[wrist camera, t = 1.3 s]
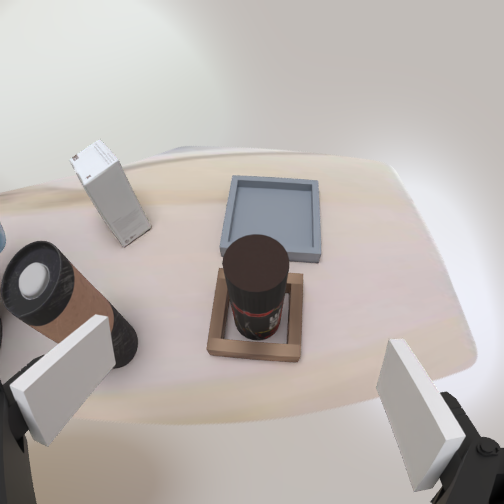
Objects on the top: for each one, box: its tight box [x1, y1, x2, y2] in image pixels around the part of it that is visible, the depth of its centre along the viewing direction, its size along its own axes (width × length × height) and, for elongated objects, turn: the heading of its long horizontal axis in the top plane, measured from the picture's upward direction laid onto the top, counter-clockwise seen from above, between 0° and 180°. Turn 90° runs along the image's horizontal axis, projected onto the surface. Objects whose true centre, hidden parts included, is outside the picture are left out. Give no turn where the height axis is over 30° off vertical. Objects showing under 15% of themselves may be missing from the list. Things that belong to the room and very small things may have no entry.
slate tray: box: [220, 175, 321, 263], centre depth 48 cm, size 14×14×2 cm
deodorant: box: [222, 234, 289, 340], centre depth 35 cm, size 6×6×15 cm
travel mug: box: [1, 241, 138, 368], centre depth 31 cm, size 8×8×20 cm
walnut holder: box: [207, 268, 303, 362], centre depth 40 cm, size 11×11×3 cm
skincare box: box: [69, 139, 151, 247], centre depth 44 cm, size 8×6×15 cm
